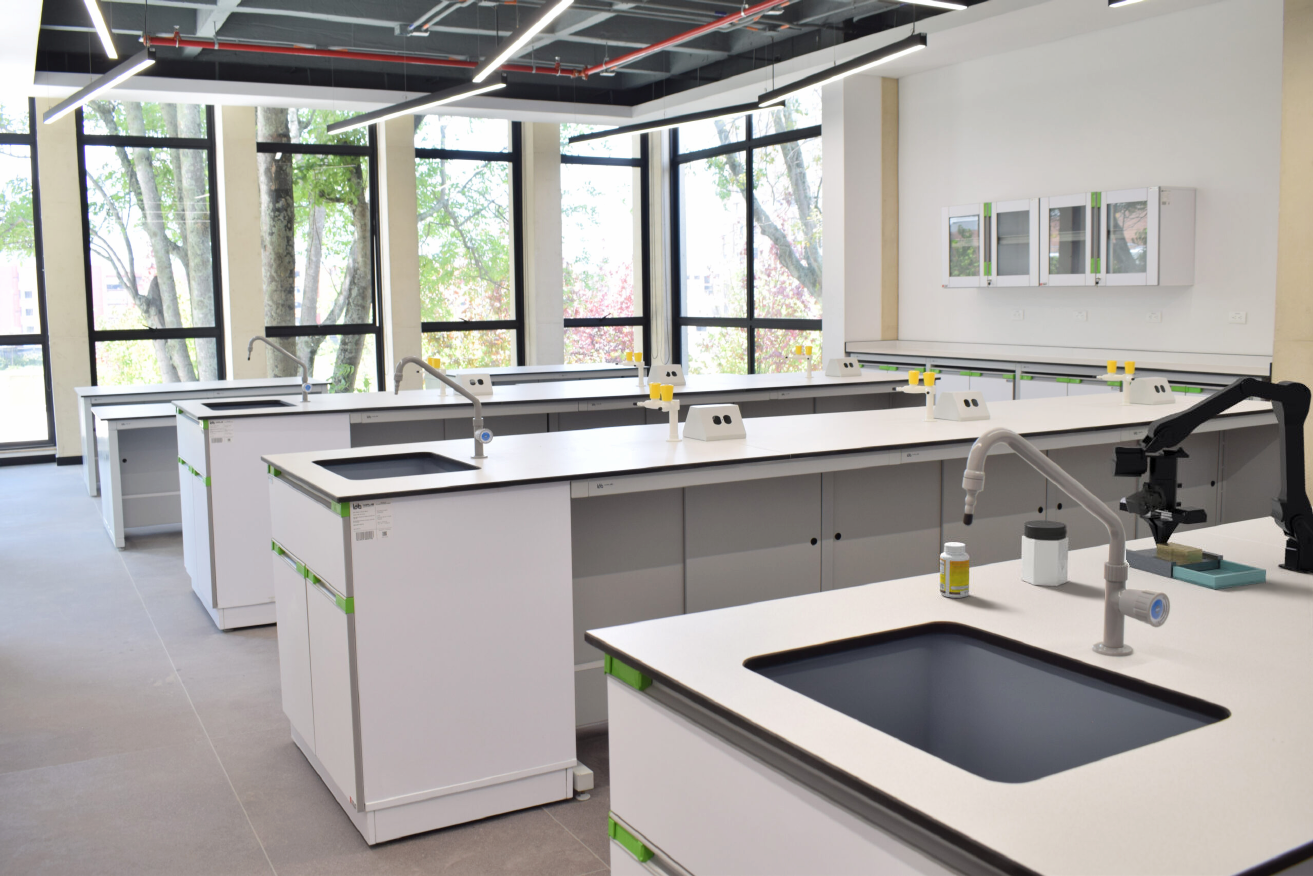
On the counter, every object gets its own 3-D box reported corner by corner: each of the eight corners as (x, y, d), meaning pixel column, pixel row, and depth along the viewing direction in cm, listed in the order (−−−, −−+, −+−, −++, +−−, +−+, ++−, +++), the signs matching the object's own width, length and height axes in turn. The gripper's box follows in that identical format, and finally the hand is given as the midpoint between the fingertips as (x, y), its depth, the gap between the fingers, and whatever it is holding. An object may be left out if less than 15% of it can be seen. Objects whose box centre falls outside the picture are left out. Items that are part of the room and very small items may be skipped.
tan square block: (1170, 553, 226) (1171, 542, 226) (1185, 557, 223) (1186, 545, 222) (1156, 555, 225) (1156, 543, 225) (1171, 559, 221) (1171, 547, 221)
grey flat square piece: (1168, 557, 234) (1169, 542, 233) (1222, 570, 221) (1223, 555, 220) (1118, 563, 228) (1118, 549, 228) (1170, 578, 215) (1171, 562, 215)
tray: (1222, 571, 220) (1223, 559, 220) (1265, 581, 211) (1266, 569, 211) (1172, 578, 215) (1173, 566, 215) (1214, 589, 206) (1214, 577, 206)
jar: (1053, 588, 209) (1054, 530, 208) (1015, 582, 215) (1016, 524, 214) (1073, 580, 215) (1074, 523, 214) (1035, 574, 221) (1036, 518, 220)
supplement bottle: (974, 595, 206) (975, 544, 204) (958, 600, 202) (958, 548, 201) (950, 589, 210) (951, 539, 209) (933, 594, 206) (934, 544, 205)
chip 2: (1186, 557, 223) (1186, 545, 222) (1201, 561, 219) (1202, 549, 219) (1171, 559, 221) (1172, 547, 221) (1187, 562, 218) (1187, 551, 217)
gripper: (1101, 474, 231) (1099, 544, 233) (1169, 487, 213) (1166, 561, 215) (1140, 471, 235) (1137, 539, 236) (1210, 483, 217) (1207, 556, 219)
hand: (1160, 548), depth 227 cm, fingers closed
